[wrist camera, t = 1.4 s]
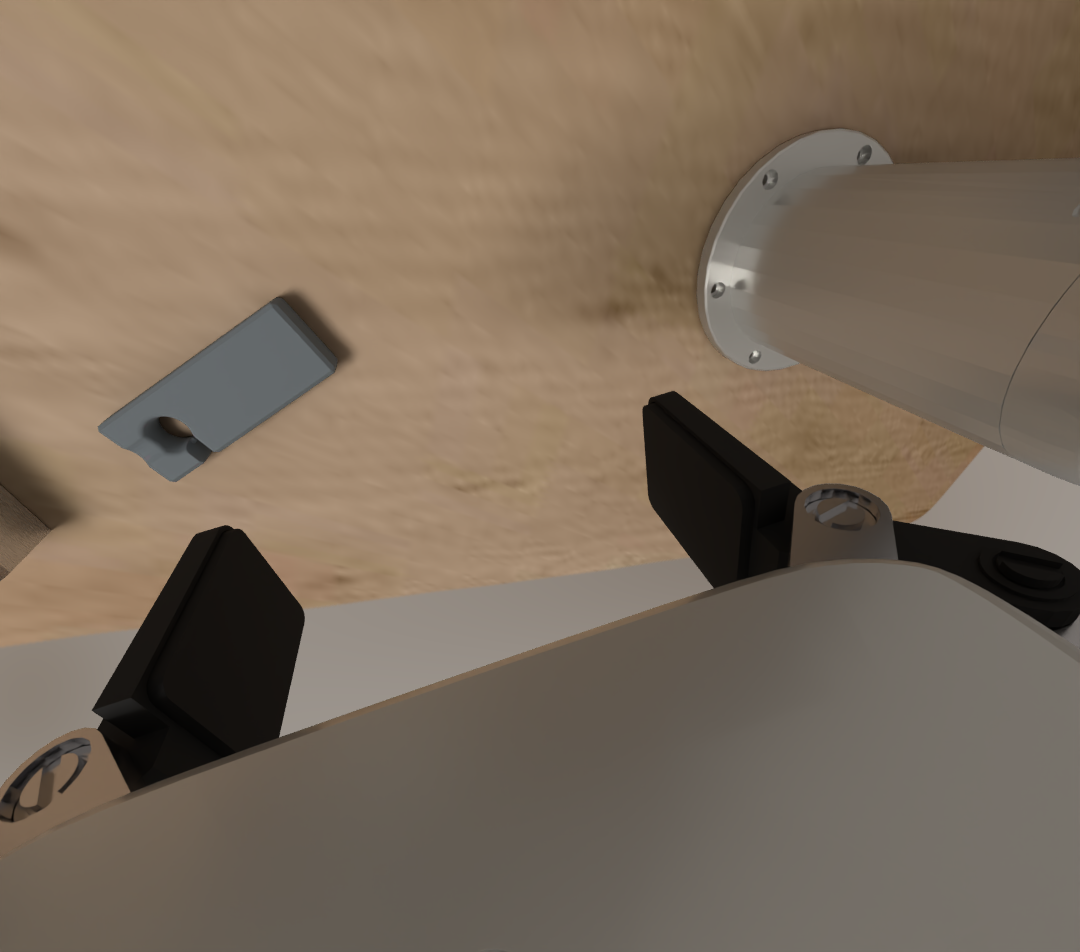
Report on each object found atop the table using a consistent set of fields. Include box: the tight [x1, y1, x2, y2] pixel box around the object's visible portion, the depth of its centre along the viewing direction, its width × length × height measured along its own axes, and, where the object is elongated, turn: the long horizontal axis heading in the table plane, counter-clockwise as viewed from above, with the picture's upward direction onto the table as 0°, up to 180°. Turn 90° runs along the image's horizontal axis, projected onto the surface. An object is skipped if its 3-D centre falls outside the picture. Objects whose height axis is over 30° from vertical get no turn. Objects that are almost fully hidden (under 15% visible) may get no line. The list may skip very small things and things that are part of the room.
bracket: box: [98, 297, 337, 482], centre depth 22 cm, size 4×10×2 cm, turn 120°
